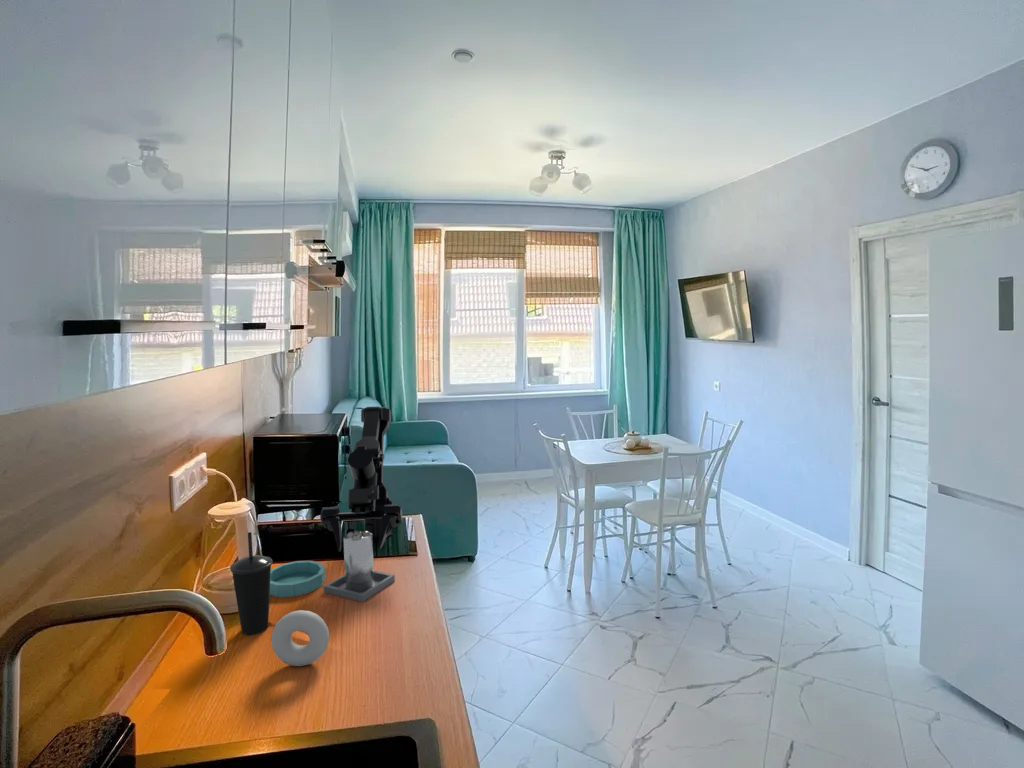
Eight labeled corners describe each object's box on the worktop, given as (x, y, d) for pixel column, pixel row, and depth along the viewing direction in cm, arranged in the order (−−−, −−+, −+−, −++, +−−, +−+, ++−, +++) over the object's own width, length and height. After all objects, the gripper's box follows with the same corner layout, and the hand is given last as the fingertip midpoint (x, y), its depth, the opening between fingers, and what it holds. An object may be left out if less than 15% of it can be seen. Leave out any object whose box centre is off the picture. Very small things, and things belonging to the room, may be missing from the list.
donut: (332, 657, 101) (330, 605, 100) (327, 668, 98) (325, 614, 97) (276, 660, 100) (273, 607, 99) (269, 672, 97) (266, 617, 96)
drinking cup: (265, 639, 107) (259, 539, 105) (226, 639, 107) (219, 540, 105) (282, 618, 115) (277, 525, 113) (246, 618, 115) (240, 526, 113)
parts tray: (357, 575, 135) (357, 566, 135) (394, 583, 130) (394, 575, 130) (324, 595, 125) (323, 586, 125) (362, 605, 120) (362, 595, 120)
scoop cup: (358, 578, 132) (356, 525, 130) (380, 583, 129) (377, 528, 128) (339, 589, 126) (337, 534, 125) (361, 595, 123) (359, 538, 122)
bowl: (297, 570, 138) (296, 557, 138) (336, 580, 132) (336, 566, 132) (253, 593, 126) (252, 578, 126) (294, 604, 121) (293, 589, 120)
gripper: (319, 475, 131) (311, 537, 121) (399, 471, 133) (397, 532, 123) (328, 498, 139) (320, 557, 129) (403, 494, 141) (401, 552, 131)
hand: (359, 549), depth 128 cm, fingers open, 9 cm apart
